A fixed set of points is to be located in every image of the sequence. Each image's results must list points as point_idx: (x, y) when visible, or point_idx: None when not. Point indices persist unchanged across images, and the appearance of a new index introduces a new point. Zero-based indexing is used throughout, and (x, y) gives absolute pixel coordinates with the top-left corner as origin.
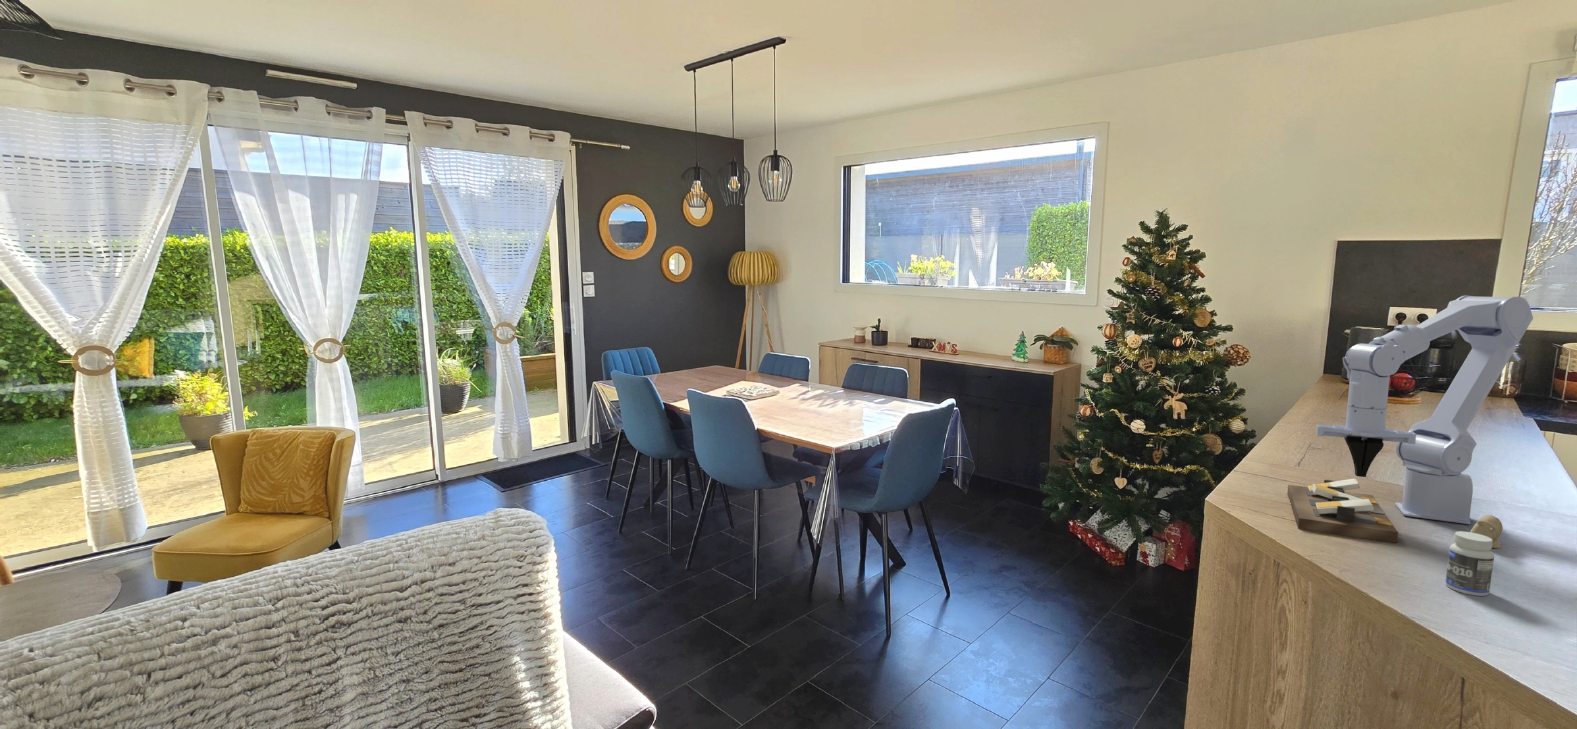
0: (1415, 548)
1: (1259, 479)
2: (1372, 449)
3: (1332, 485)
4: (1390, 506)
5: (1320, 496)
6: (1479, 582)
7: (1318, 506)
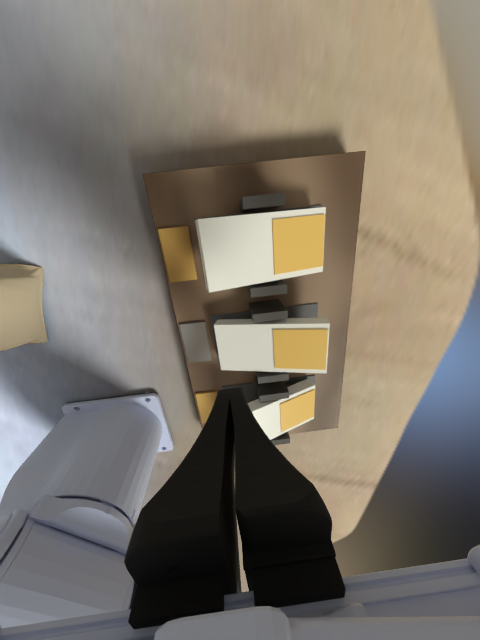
0: (114, 159)
1: (359, 463)
2: (193, 490)
3: (277, 412)
4: (180, 435)
5: (291, 382)
6: None
7: (322, 225)
